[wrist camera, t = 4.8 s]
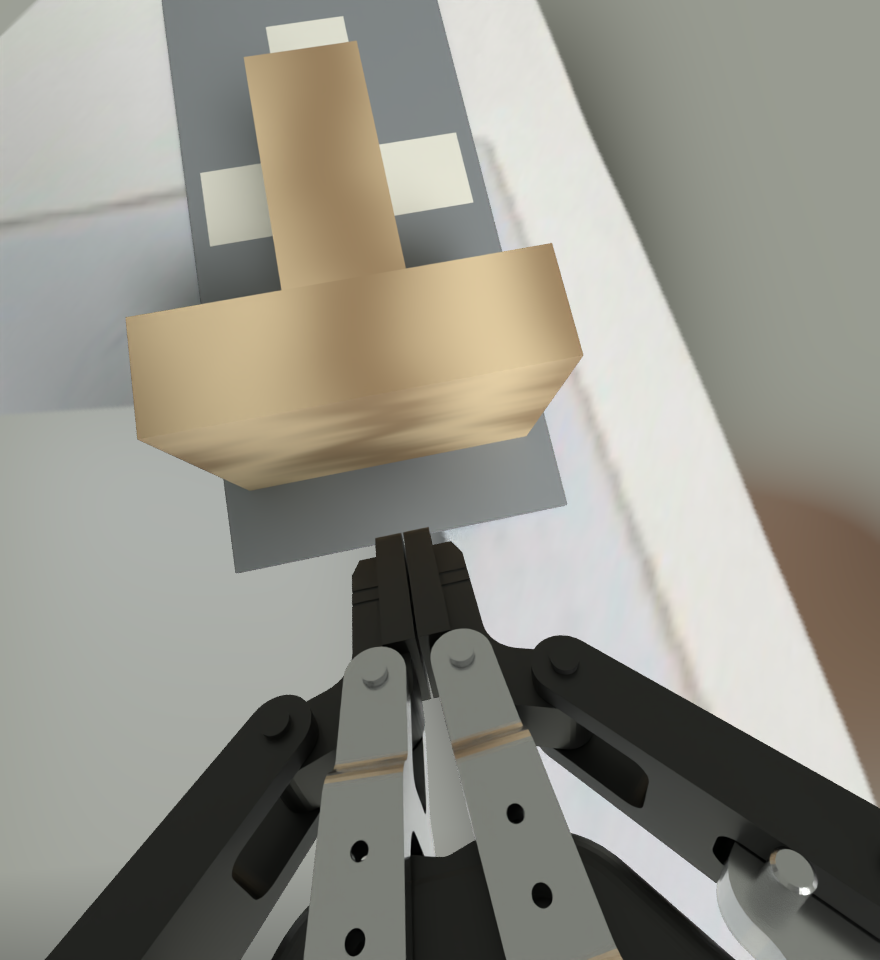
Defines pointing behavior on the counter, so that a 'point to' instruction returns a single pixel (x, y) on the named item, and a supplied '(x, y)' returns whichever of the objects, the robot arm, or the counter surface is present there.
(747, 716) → the counter surface
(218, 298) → the slate mat
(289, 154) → the oak T block
